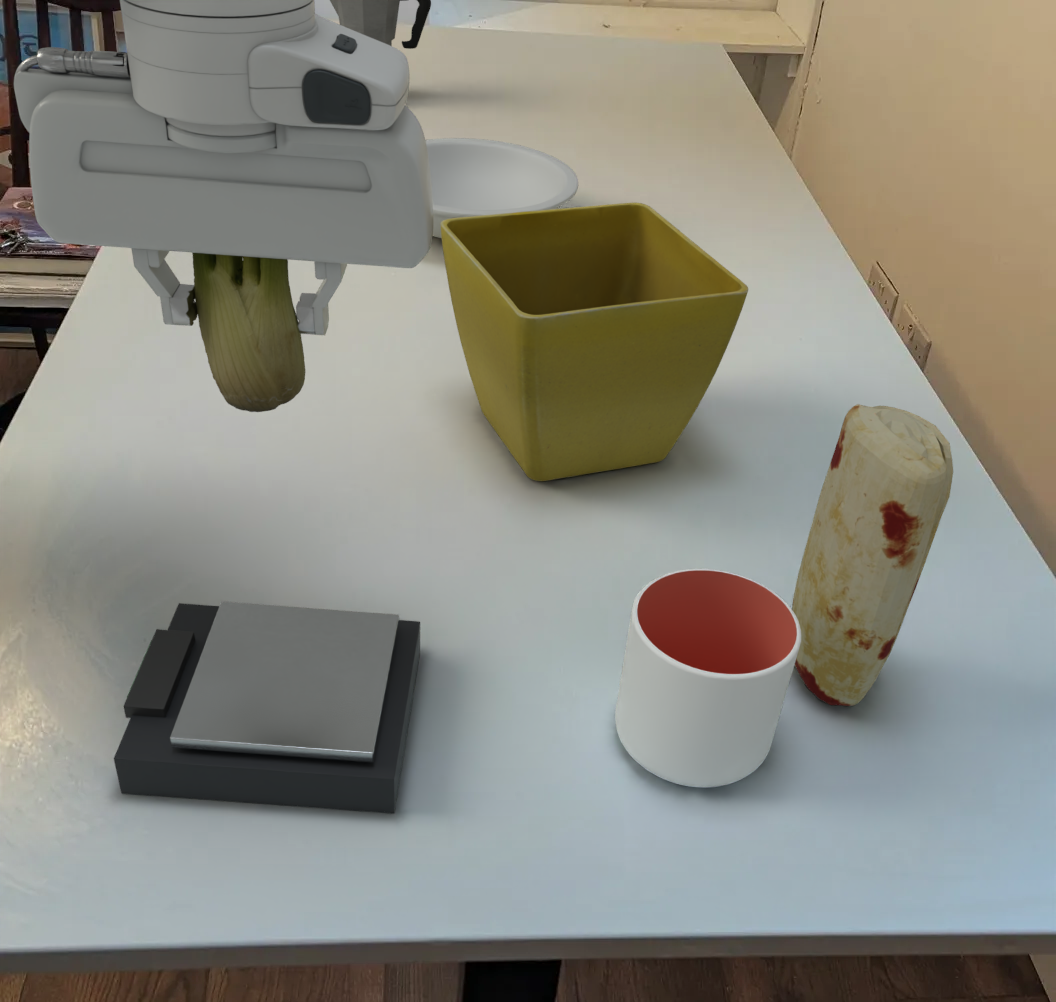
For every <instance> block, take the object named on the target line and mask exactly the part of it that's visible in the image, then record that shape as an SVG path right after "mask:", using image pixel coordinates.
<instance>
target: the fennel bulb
mask: <svg viewBox="0 0 1056 1002" xmlns="http://www.w3.org/2000/svg"><path fill="white" fill-rule="evenodd" d="M191 254H192V265H193V266H192V268H193V277H194V278H193V285H194V287H195V297H196V298H195V299H194V301H195V302H196V306H197V313H198V314H197V318H198V319H197V320H198V326H199V330H200V331H199V332H200V335H201V339H202V342H203V346H204V350H205V351H204V352H205V353H206V357H207V362H208V365H209V369H210V372H211V374H212V378H213V380H214V381H215V384H216V386H217V388H218V390H219V392H220V394H221V395H222V397H223V399H224V400H225V402H226V403H227V404H228V405H229V406H232V407H233V408H235V409H237V410H239V411H245V412H249V413H263V412H269V411H273V410H274V411H275V410H276V409H277V408H278V407H279V406H281V405H285V404H287V403H289V402H291V401H292V400H293V399H294V398H296V397H297V395H299V393H300V392H301V391H302V388H303V387H304V384H305V380H306V363H305V353H304V346H303V339H302V334H300V333H299V330H298V326H297V325H298V322H299V320H298V319H297V315H296V308H295V306H294V301H293V297H292V291H291V286H290V280H289V279H290V278H289V260H288V259H274V258H260V257H246V256H232V255H219V254H205V253H191Z"/></svg>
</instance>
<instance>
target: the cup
mask: <svg viewBox="0 0 1056 1002" xmlns="http://www.w3.org/2000/svg"><path fill="white" fill-rule="evenodd" d="M630 612H631V613H630V619H629V626H628V631H627V637H626V644H625V648H624V649H625V650H624V655H623V662H622V666H621V667H622V668H621V674H620V678H619V679H620V681H619V686H618V692H617V698H616V705H615V710H614V711H615V712H614V722H615V727H616V728H615V729H616V733H617V735H618V738H619V740H620V742H621V745H622V746H623V748H624V749H625V751H626V752H627V753H628V754H629V756H630V757H631V758H632V759H633V760H634V761H635V762H636V763H637V764H638V765H639V766H640V767H642V768H643V769H645V770H646V771H648V772H649V773H651V774H652V775H654V776H656V777H658V778H660V779H662V780H664V781H667V782H670V783H673V784H676V785H680V786H686V787H692V788H716V787H722V786H728V785H731V784H734V783H737V782H739V781H741V780H743V779H745V778H747V777H748V776H750V775H751V774H752V773H754V772H755V771H756V770H757V769H758V768H759V767H760V766H761V765H762V764H763V762H764V761H765V759H766V758H767V756H768V754H769V753H770V750H771V748H772V744H773V741H774V737H775V733H776V731H777V728H778V727H777V726H778V723H779V720H780V716H781V713H782V709H783V706H784V702H785V700H786V696H787V692H788V689H789V684H790V681H791V679H792V675H793V672H794V667H795V661H796V658H797V654H798V651H799V647H800V644H801V629H800V625H799V621H798V619H797V617H796V615H795V613H794V612H793V610H792V607H791V606H790V605H789V604H788V603H787V602H786V600H785V599H783V598H782V597H781V596H780V595H779V594H778V593H776V592H775V591H774V590H772V589H771V588H770V587H767V586H766V585H764V584H762V583H760V582H759V581H757V580H754V579H752V578H750V577H747V576H745V575H741V574H738V573H735V572H731V571H726V570H722V569H721V570H720V569H712V568H689V569H688V568H687V569H680V570H674V571H671V572H667V573H665V574H662V575H660V576H658V577H656V578H654V579H652V580H651V581H649V582H648V583H647V584H646V585H644V586H643V587H642V588H641V589H640V591H639V592H638V593H637V595H636V596H635V598H634V601H633V603H632V606H631V611H630Z"/></svg>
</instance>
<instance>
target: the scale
mask: <svg viewBox="0 0 1056 1002" xmlns="http://www.w3.org/2000/svg"><path fill="white" fill-rule="evenodd" d="M219 606H220V605H207V604H196V603H180V602H178V604H177V606H176V609H175V611H174V614H173V616H172V618H171V621H170V623H169V626H168V628H167V629H160V628H156V629H155V632H154V634H153V636H152V639H151V640H150V641H149V644H148V646H147V649H146V651H145V653H144V656H143V658H142V661H141V663H140V664H139V667H138V669H137V672H136V674H135V677H134V679H133V681H132V684H131V685H130V688H129V690H128V693H127V695H126V699H125V701H124V704H123V705H122V706H123V710H124V711H123V712H124V717H125V718H126V719H129V721H128V723H127V726H126V728H125V730H124V733H123V735H122V737H121V740H120V742H119V745H118V747H117V748H116V749H117V750H116V752H115V754H114V757H113V762H114V766H115V771H116V776H117V780H118V785H119V789H120V794H123V795H136V796H148V797H149V796H152V797H163V798H164V797H165V798H176V799H177V798H178V799H191V800H204V801H205V800H206V801H218V802H233V803H243V804H244V803H245V804H259V805H260V804H261V805H272V806H287V807H300V808H312V809H313V808H315V809H327V810H339V811H340V810H341V811H353V812H368V813H379V814H380V813H382V814H395V813H396V806H397V799H398V793H399V787H400V781H401V776H402V769H403V763H404V757H405V750H406V745H407V737H408V731H409V726H410V718H411V713H412V707H413V700H414V694H415V688H416V683H417V675H418V670H419V663H420V657H421V621H419V620H407V619H404V620H403V619H399V628H398V633H397V638H396V644H395V649H394V654H393V660H392V665H391V670H390V676H389V681H388V686H387V692H386V697H385V703H384V708H383V713H382V719H381V724H380V729H379V735H378V740H377V745H376V751H375V756H374V761H373V762H360V761H347V760H333V759H320V758H306V757H293V756H279V755H266V754H252V753H239V752H226V751H212V750H199V749H185V748H172V747H171V742H170V736H171V734H172V731H173V728H174V726H175V723H176V720H177V718H178V715H179V712H180V710H181V707H182V704H183V702H184V699H185V696H186V694H187V691H188V688H189V686H190V683H191V680H192V678H193V675H194V672H195V670H196V667H197V664H198V662H199V659H200V656H201V654H202V651H203V649H204V646H205V643H206V641H207V638H208V635H209V633H210V630H211V627H212V625H213V622H214V619H215V617H216V614H217V611H218V609H219Z"/></svg>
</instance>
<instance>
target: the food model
mask: <svg viewBox="0 0 1056 1002" xmlns="http://www.w3.org/2000/svg"><path fill="white" fill-rule="evenodd" d="M951 449H952V448H951V444H950V441H948V439H947V438H946V437H945V435H944V434H943V432H941V431H940V428H938V426H936V424H934V423H932V422H931V421H929V420H928V419H925V418H924V417H921V416H920V415H917V414H915V413H912V412H910V411H908V410H905V409H901V408H898V407H897V408H896V407H893V406H888V405H875V406H867V405H863V404H859V403H857V404H855V405H853V406H852V407H851V408H850V409H849V410H848V411H847V413H846V414H845V416H844V419H843V422H842V425H841V429H840V432H839V435H838V438H837V442H836V444H835V448H834V451H833V454H832V457H831V460H830V463H829V466H828V469H827V472H826V475H825V478H824V481H823V484H822V487H821V490H820V493H819V497H818V500H817V503H816V508H815V511H814V514H813V518H812V522H811V526H810V529H809V533H808V537H807V540H806V544H805V548H804V550H803V555H802V558H801V563H800V567H799V570H798V573H797V578H796V583H795V586H794V592H793V597H792V604H791V609H792V610H793V612H794V613H795V615H796V617H797V619H798V621H799V625H800V629H801V644H800V647H799V651H798V654H797V658H796V661H795V665H794V667H795V669H796V671H797V672H798V675H799V676H800V679H801V680H802V681H803V683H804V685H805V687H806V689H808V690H809V691H810V692H811V693H812V694H813V695H814V696H815V697H817V699H818V700H820V701H822V702H824V703H825V704H827V705H829V706H844V707H851V706H856V705H857V704H859V703H861V701H863V700H864V698H865V696H866V695H867V694H868V692H870V690H871V688H872V687H873V686H874V684H875V682H876V681H877V679H878V677H879V675H880V673H881V672H882V670H883V668H884V666H885V663H886V662H887V660H888V658H889V656H890V654H891V652H892V650H893V648H894V646H895V643H896V641H897V638H898V636H899V634H900V630H901V628H902V625H903V623H904V620H905V617H906V614H907V612H908V609H909V607H910V604H911V602H912V599H913V596H914V594H915V591H916V590H917V586H918V583H919V580H920V578H921V575H922V572H923V570H924V566H925V564H926V561H927V559H928V555H929V553H930V550H931V547H932V545H933V542H934V539H935V536H936V534H937V531H938V528H939V525H940V522H941V519H942V517H943V514H944V512H945V509H946V507H947V505H948V502H949V499H950V497H951V490H952V483H953V475H954V464H953V463H954V462H953V455H952V450H951Z"/></svg>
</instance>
